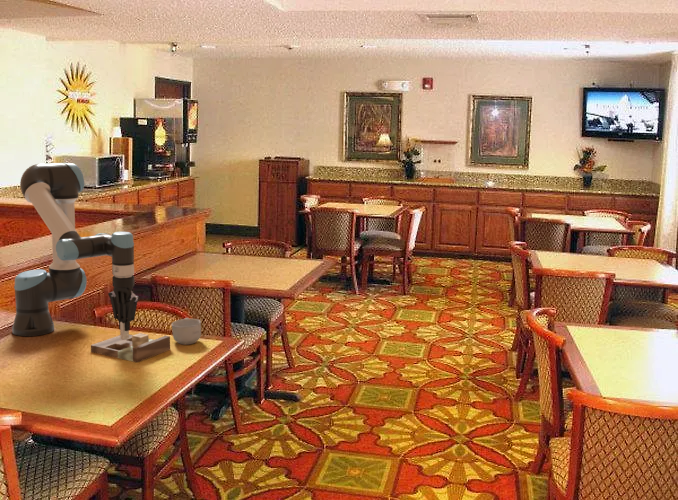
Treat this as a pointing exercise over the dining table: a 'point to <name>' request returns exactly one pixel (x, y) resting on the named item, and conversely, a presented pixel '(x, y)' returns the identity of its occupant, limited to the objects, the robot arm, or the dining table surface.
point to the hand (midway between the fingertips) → (124, 338)
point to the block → (139, 339)
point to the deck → (131, 348)
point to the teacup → (186, 331)
